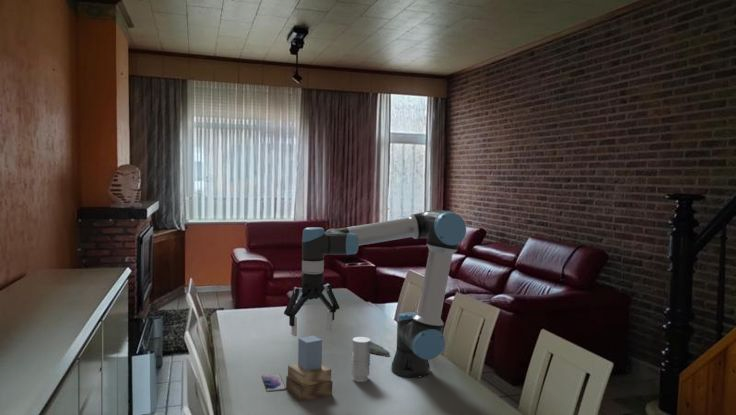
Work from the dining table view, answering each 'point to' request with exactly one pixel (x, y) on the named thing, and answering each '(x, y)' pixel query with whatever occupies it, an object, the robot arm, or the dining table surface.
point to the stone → (377, 349)
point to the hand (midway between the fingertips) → (312, 332)
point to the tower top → (309, 375)
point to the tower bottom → (308, 390)
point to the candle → (360, 359)
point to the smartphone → (273, 382)
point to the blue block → (310, 353)
